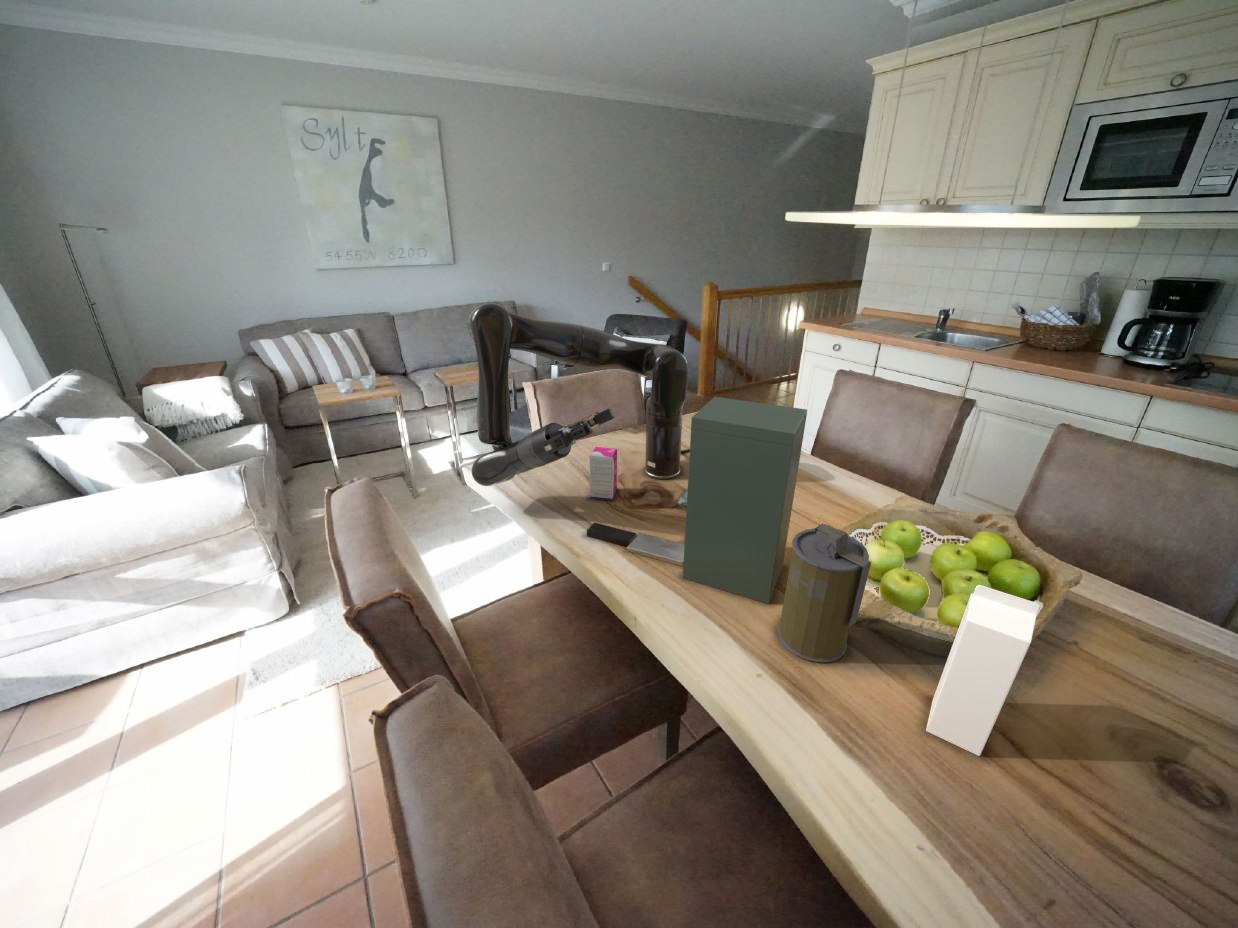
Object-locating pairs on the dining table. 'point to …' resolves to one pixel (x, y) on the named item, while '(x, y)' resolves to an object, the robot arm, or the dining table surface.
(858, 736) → the dining table surface
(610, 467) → the supplement box
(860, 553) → the canister
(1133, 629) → the dining table surface
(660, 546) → the long-handled flat paddle
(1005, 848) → the dining table surface
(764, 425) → the tall green lidded box
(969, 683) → the milk
